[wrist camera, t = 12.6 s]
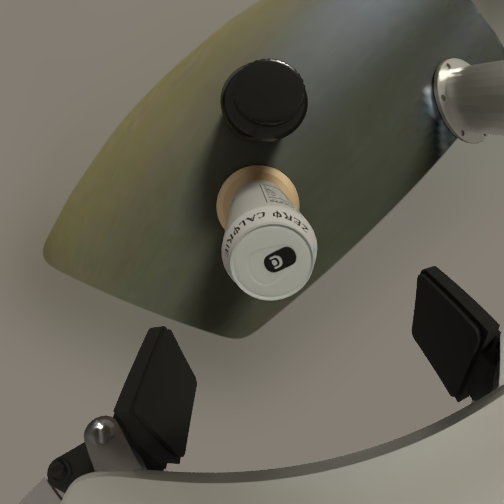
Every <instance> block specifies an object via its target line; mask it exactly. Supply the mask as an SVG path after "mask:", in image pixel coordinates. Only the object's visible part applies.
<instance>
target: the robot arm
mask: <svg viewBox="0 0 504 504" xmlns="http://www.w3.org/2000/svg"><path fill="white" fill-rule="evenodd" d="M434 94H435V99H436V103H437V106H438V109H439V112H440V114H441V116H442V118H443V120H444V122H445V124H446V125H447V127H448V128H449V129H450V131H451V132H452V133H453V134H454V135H455V136H456V137H457V138H459V139H460V140H462V141H464V142H467V143H479V142H482V141H483V140H484V139H485V138H486V137H487V136H488V134H492V135H500V136H504V60H502V61H495V62H488V63H482V64H476V65H471V66H470V65H469V64H468V63H466V62H465V61H463V60H460V59H456V58H452V59H447V60H445V61H443V62H441V63H440V64H439V66H438V67H437V69H436V72H435V75H434ZM499 326H500V325H499V324H498V323H497V322H496V321H495V320H494V319H493V318H492V317H491V316H490V315H489V314H488V313H487V312H486V311H485V310H484V309H483V308H482V307H481V306H480V305H479V304H478V303H477V302H476V301H475V300H474V299H473V298H471V297H470V296H469V295H468V294H467V293H466V292H465V291H464V290H463V289H461V288H460V287H459V286H458V285H457V284H456V283H455V282H454V281H452V280H451V279H450V278H449V277H448V276H447V275H445V274H444V273H443V272H442V271H441V270H439V269H438V268H437V267H436V266H433V267H430V268H427V269H424V270H422V271H421V273H420V275H418V278H417V290H416V300H415V309H414V317H413V325H412V335H413V337H414V339H415V341H416V342H417V344H418V345H419V346H420V348H421V350H422V351H423V353H424V354H425V356H426V357H427V359H428V360H429V362H430V363H431V365H432V366H433V368H434V370H435V371H436V373H437V374H438V376H439V377H440V379H441V381H442V382H443V384H444V386H445V387H446V389H447V390H448V392H449V394H450V395H451V396H452V397H454V396H455V398H456V400H457V401H458V402H460V401H461V400H463V399H465V398H467V397H469V395H470V397H471V398H472V403H471V404H470V405H468V406H466V407H465V408H463V409H461V410H459V411H457V412H455V413H454V414H452V415H450V416H448V417H446V418H444V419H442V420H440V421H438V422H436V423H434V424H432V425H429V426H427V427H425V428H422V429H420V430H418V431H415V432H413V433H411V434H408V435H406V436H403V437H401V438H398V439H395V440H393V441H390V442H387V443H384V444H381V445H378V446H375V447H372V448H369V449H366V450H362V451H359V452H356V453H352V454H348V455H345V456H341V457H337V458H332V459H328V460H324V461H319V462H314V463H309V464H303V465H298V466H291V467H284V468H277V469H269V470H259V471H246V472H227V473H190V472H188V473H187V472H169V471H167V470H166V466H167V463H175V464H179V463H180V458H181V457H183V456H184V454H185V450H186V444H187V438H188V432H189V426H190V420H191V414H192V408H193V403H194V397H195V392H196V387H197V382H196V377H195V375H194V374H193V372H192V370H191V368H190V366H189V364H188V362H187V361H186V359H185V357H184V355H183V353H182V351H181V349H180V347H179V345H178V343H177V341H176V339H175V337H174V335H173V333H172V331H171V330H169V329H168V330H167V328H166V327H164V326H162V327H154V328H150V329H149V330H148V332H147V335H146V337H145V339H144V341H143V343H142V346H141V348H140V350H139V352H138V354H137V357H136V359H135V361H134V363H133V366H132V368H131V370H130V372H129V375H128V377H127V379H126V382H125V384H124V386H123V389H122V391H121V394H120V396H119V399H118V401H117V403H116V406H115V408H114V412H115V413H114V416H113V417H111V416H100V417H98V418H95V419H94V420H92V421H91V422H90V423H89V424H88V425H87V427H86V429H85V431H84V441H85V442H84V443H82V444H81V445H79V446H77V447H76V448H74V449H72V450H70V451H69V452H67V453H65V454H63V455H62V456H60V457H58V458H56V459H55V460H54V461H52V463H51V464H50V465H49V468H48V473H47V476H48V480H47V479H46V478H43V479H42V480H41V481H40V482H39V483H38V484H37V485H36V486H35V487H34V488H33V489H32V490H31V491H30V492H29V493H28V494H27V495H26V496H25V497H24V498H23V499H22V500H21V502H20V504H504V329H503V330H502V332H500V331H499V330H498V329H499Z"/></svg>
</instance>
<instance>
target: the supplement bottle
mask: <svg viewBox="0 0 504 504" xmlns="http://www.w3.org/2000/svg"><path fill="white" fill-rule="evenodd" d="M307 107H308V98H307V93H306V90H305V85H304V84H303V79H302V78H301V77H300V74H299V73H297V71H296V70H295V69H294V68H292V67H291V66H290V65H288V64H286V63H285V62H282V61H279V60H273V59H261V60H256V61H254V62H252V63H249V64H246V65H244V66H242V67H240V68H238V69H237V70H236V71H234V72H233V73H232V74H231V75H230V76H229V78H228V79H227V80H226V82H225V84H224V86H223V89H222V92H221V109H222V113H223V115H224V118H225V120H226V122H227V124H228V126H229V128H230V129H231V131H232V132H233V133H234V134H235V135H236V136H237V137H239V138H240V139H242V140H244V141H247V142H250V143H267V142H271V141H276V140H279V139H282V138H284V137H286V136H288V135H289V134H291V133H292V132H294V131H295V130H296V129H297V128H298V127H299V126H300V124H301V123H302V121H303V119H304V117H305V115H306V112H307Z"/></svg>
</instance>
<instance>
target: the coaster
mask: <svg viewBox="0 0 504 504" xmlns="http://www.w3.org/2000/svg"><path fill="white" fill-rule="evenodd" d="M255 180H264V181H269V182H271V183H273V184H275V185H277V186H278V187H279V188H280V189H281V190H282V191H283V192H284V193H285V195H286V196H287V197H288V198H289V199H290V201H291V202H292V203H293V204H294V206H295V207H296V208H297V209H298V211H299V198H298V194H297V191H296V189H295V187H294V185H293V183H292V182H291V181H290V180H289V178H288V177H286V176H285V175H284V174H283V173H281V172H280V171H278V170H276V169H274V168H272V167H268V166H263V165H253V166H247V167H244V168H242V169H239V170H237V171H236V172H234V173H233V174H232V175H230V176H229V177H228V178H227V180H226V181H225V182H224V184H223V185H222V187H221V189H220V191H219V194H218V197H217V205H216V208H217V215H218V219H219V221H220V223H221V225H222V227H223V228H224V230H225V228H226V224H227V219H228V215H229V210H230V206H231V202H232V199H233V196H234V194H235V193H236V191H237V190H238V189H239V188H240V187H241V186H243V185H244V184H246V183H248V182H251V181H255Z"/></svg>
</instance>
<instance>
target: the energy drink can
mask: <svg viewBox="0 0 504 504" xmlns="http://www.w3.org/2000/svg"><path fill="white" fill-rule="evenodd" d="M221 250H222V260H223V264H224V267H225V269H226V271H227V273H228V275H229V276H230V277H231V279H232V280H233V281H234V282H235V283H236V284H237V285H238V286H239V288H240V289H242V290H243V291H244V292H245V293H247V294H248V295H250V296H252V297H255V298H257V299H261V300H279V299H284V298H286V297H289V296H291V295H293V294H295V293H296V292H298V291H299V290H300V289H301V288H302V287H303V286H304V285H305V284H306V283H307V281H308V280H309V278H310V276H311V274H312V271H313V267H314V263H315V260H316V256H317V241H316V237H315V234H314V231H313V230H312V228H311V226H310V224H309V223H308V222H307V220H306V219H305V218H304V217H303V215H302V214H301V213H300V212H299V211H298V209H297V208H296V207H295V206H294V204H293V203H292V202H291V201H290V199H289V198H288V197H287V196H286V195H285V193H284V192H283V191H282V190H281V189H280V188H279V187H278V186H277V185H275V184H273V183H271V182H269V181H264V180H255V181H251V182H248V183H246V184H244V185H243V186H241V187H240V188H239V189H238V190H237V191H236V193H235V194H234V196H233V199H232V202H231V206H230V210H229V215H228V219H227V224H226V228H225V233H224V238H223V243H222V248H221Z"/></svg>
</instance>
